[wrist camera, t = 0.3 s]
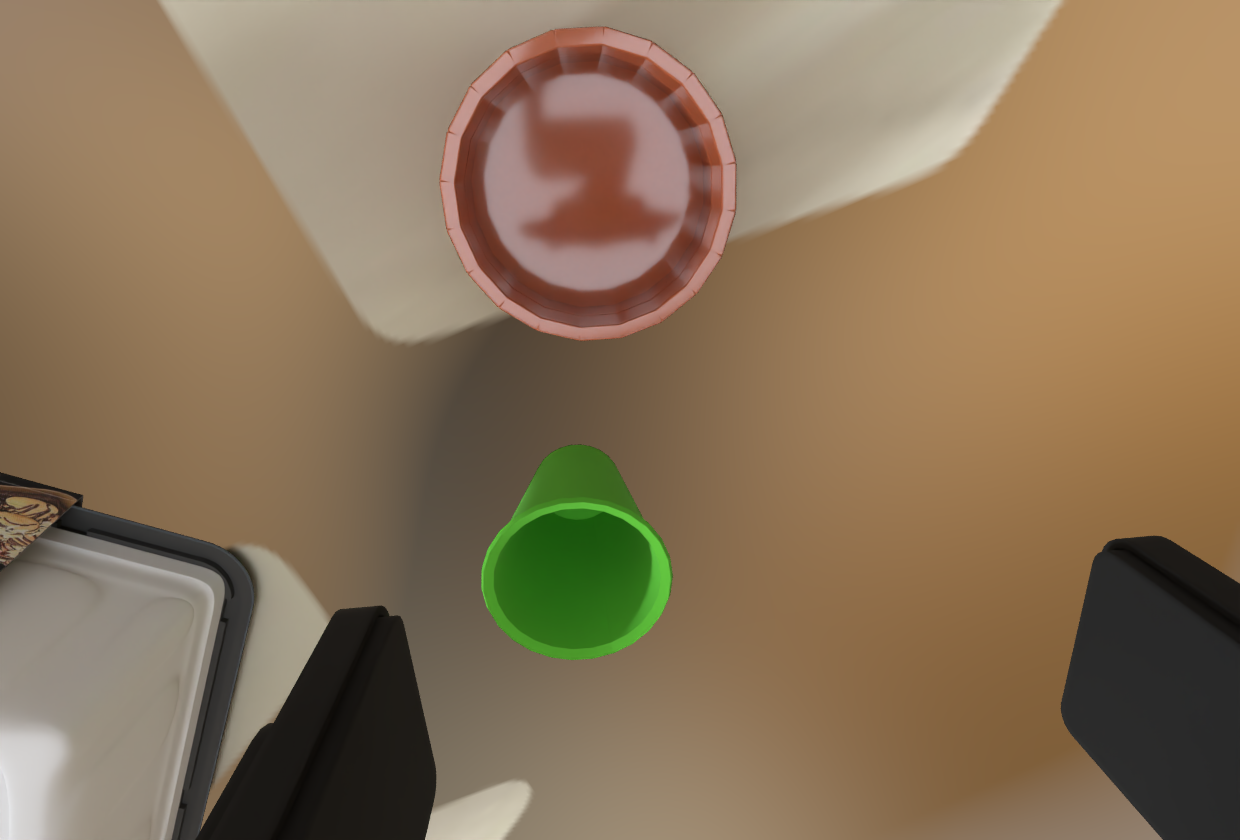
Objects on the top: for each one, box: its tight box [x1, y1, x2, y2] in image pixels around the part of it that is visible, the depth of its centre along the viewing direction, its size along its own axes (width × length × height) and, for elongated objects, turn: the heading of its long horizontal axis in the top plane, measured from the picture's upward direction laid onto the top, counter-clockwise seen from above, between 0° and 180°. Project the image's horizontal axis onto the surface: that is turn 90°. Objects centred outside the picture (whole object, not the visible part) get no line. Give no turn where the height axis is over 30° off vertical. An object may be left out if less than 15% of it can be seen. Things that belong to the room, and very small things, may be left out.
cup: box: [481, 445, 673, 660], centre depth 36 cm, size 9×9×11 cm
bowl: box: [439, 26, 737, 341], centre depth 32 cm, size 13×13×6 cm
